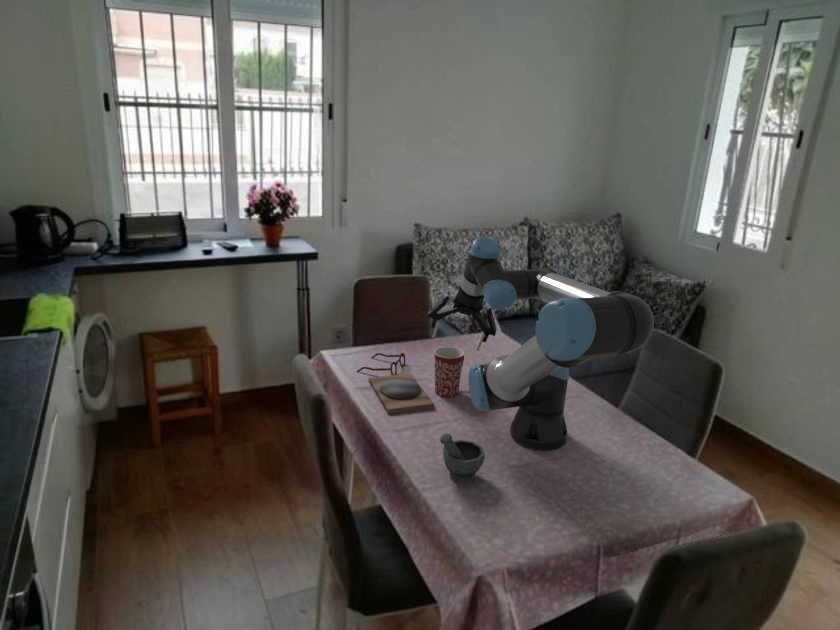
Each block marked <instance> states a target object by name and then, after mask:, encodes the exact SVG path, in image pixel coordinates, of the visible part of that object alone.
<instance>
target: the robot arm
mask: <svg viewBox="0 0 840 630" xmlns="http://www.w3.org/2000/svg"><path fill="white" fill-rule="evenodd" d="M470 247H471V248H470V249H469V251H468V256H467V259H466V262H465V267H464V270H463V273H462V277H461V279H460V284H459V285H458V290H457V293H456V295H455V296H453V295H451V293H450V292H448V291H446V292H445V294H444V297H442V298H441V299H440V300H439V301H438V302H436V303H435V304H434V305H433V307H431V308H430V309H429V310H428V314H427V318H429V319H432V321H431V328H433V333H432V335H431V338H432V339H436V334H437V331H438V327H439V323H440V320H441V319H443V318H446V317H448V316H449V315H452V314H454V315H455V314H456V313H459V314H462V315H466V316H469V317H471V316H472V317H473V319H474V320H475V321H476V323H477V324H478V326H479V327H480V329H481V334H480V336H479V340H478V342H477V345H476V351H478V352H479V351H480V348H481V347H482V344H483V343H486V342H487V340H488V338H489V336H492V337H495V336H496V335H497V326H496V322H495V318H494V312H493V311H492V310H493V309H494V310H496V311H497V310H498V311H502V310H505V309H506V308H510V307H512V306H513V304H514V303H515V302H516V301H517V300H526V299H527V300H528V299H538V300H541V301H543V302H544V303H545V302H546V304H545V305H544V306H543V307H542V308H541V309H540V311H539V313H538V316H537V318H538V320H536V322H535V335H534V336H532V337H531V338H530V339H529V340H527V341H526V342H525V343H524V344H522V345H521V346H520V347H518V348H517V349H516V350H514V351H513V352H512V353H510V354H507V355H506V354H504V355H503V354H502V355H500V356H497V357H495V358H494V359H492V360H491V361H490V362H489V363H484V364H480V363H478V364H477V365H476V364H475V365H472V366H471V367H470V369H469V371H468V377H467V379H468V381H467V382H468V391H469V396H470V399H471V402H472V404H473V406H474V407H475V409H477V410H478V411H480V412H491V411H495V410H496V411H497V410H504V409H510V408H518V409H517V411H516V412H515V415H514V417H513V420H512V421H511V424H510V431H509V432H510V433H509V434H510V437H511V438H512V440H513V441H514V442H516V443H517V444H519V445H521V446H522V447H525V448H529V449H532V450H537V451H553V450H558V449H561V448H562V447H564V446H565V445H566V444H567V440H568V429H567V424H566V419H565V418H566V417H565V415H564V413H565V412H564V411H565V403H566V397H567V390H568V389H567V388H568V383H569V382H568V381H569V380H570V377H569V376H570V375H569V373H570V369H573V368H576V367H578V366H581V365H582V364H584V363H585V362H587V361H589V360H591V359H593V358H597V357H599V358H600V357H607V356H615V355H616V356H617V355H625V354H630V353H633V352H635V351H637V350H639V349H640V348H642V347H643V346H644V345H645V344H647V342H648V341H649V340H650V338H651V337H652V334H653V332H654V326H655V318H654V313H653V311H652V309H651V307H650V306H649V305H648V303H647V302H646V301H645V300H644V299H642V298H641V297H639V296H636V295H633V294H630V293H628V292H624V291H620V290H615V291H611V292H610V291H608V290H607V291H606V290H604V289H601V288H598V287H595V286H592V285H589V284H586V283H583V282H580V281H577V280H575V279H572V278H569V277H566V276H565V274H564V273H562V271H561V270H560V269H558V268H551V267H550V268H549V267H544V268H532V269H529V268H528V269H516V270H515V269H510V270H505V269H504V268H503V266H502V264H501V262H500V260H499V257H500V255H501V254H500V253H501V245H500V244H499V242H497V240H495V239H493V238H491V237H485V236H484V237H481V236H479V237H477V238H476V239H474V241H473V242H472V245H471V246H470ZM484 300H486V302H487V304H488V305H486V304H484ZM451 302H452V304H451V305H448V306H446V305H447V304H450V303H451ZM445 306H446V307H445ZM482 310H483V312H484V314H485V315H486V318H484V316H483V315H482V313H481V311H482ZM485 319H487V321H486V320H485Z"/></svg>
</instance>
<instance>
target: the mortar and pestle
mask: <svg viewBox="0 0 840 630" xmlns="http://www.w3.org/2000/svg"><path fill="white" fill-rule="evenodd" d="M439 441H440V444H443V448H442V456H443V461H444V465H445V467H446V469H447V470H448V471H449V473H448V475H449V479H450V480H452V481H453V482H455V483H460V484H469V483H471V482H473V481H474V480H475V479H476V473H478V472H479V470H480V469H481V468H482V466H483V464H484V461H485V457H486V454H485V450H484V448H483V446H481V445H480V444H478V443H476V442H474V441H472V440H471V441H470V440H466V439H465V440H463V439H457V440H453V437H452V435H451V434H450V433H444V434H442V435H441V436H440V438H439Z"/></svg>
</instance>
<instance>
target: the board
mask: <svg viewBox="0 0 840 630" xmlns="http://www.w3.org/2000/svg"><path fill="white" fill-rule="evenodd" d="M368 383H370V384H369V386H370V387H371V388H372V390H373V392H374V393H375V395H376V397H377V398H378V400H379V402H380V403H381V405H382V408H383V409H384V410H385V412H386V413H387V415H390V414H391V413H393V414H400V413H407V412H408V413H409V412H415V411H424V410H430V409H431V410H433V409H435V403H434V402H433V400H432V399H431V397H430V396H428V394H427V393H426V391H425V390H424V389H423V387H422V386H421V385H420V384H419V382H418V381H417V380H416V378H415V376H414V375H413V374H412V373H410V372H409V373H403V374H402V373H400V374H396V375H394V374H393V375H391V374H390V375H381V376H373V377H368ZM391 415H392V414H391Z"/></svg>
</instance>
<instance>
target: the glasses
mask: <svg viewBox="0 0 840 630" xmlns="http://www.w3.org/2000/svg"><path fill="white" fill-rule="evenodd" d="M377 356H382V357H385V358H398V359H397V361H392V362H391V364H390V367H387V368H385V367H384V368H383V367H382V368H381V367H380V368H372V367H369V366H362V367H361V368H359V369H357V370H356V371H357V372H356V373H359V372H361V371H362V370H364V369H365V370H370V371H377V372H378V371H380V372H381V371H390V375H398V373H397V372H398V368H397V365H398V363H399V365H400V367H401V368H403V367H405V365H406V355H405V353H404V352H401V353H400V354H384V353H378V352H377V353H375V354H374V355H372V356H371V357H370V359H372V358H373V359H375V358H376V357H377ZM402 358H403V363H402ZM393 366H394V369H395V371H394V373H393Z"/></svg>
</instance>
